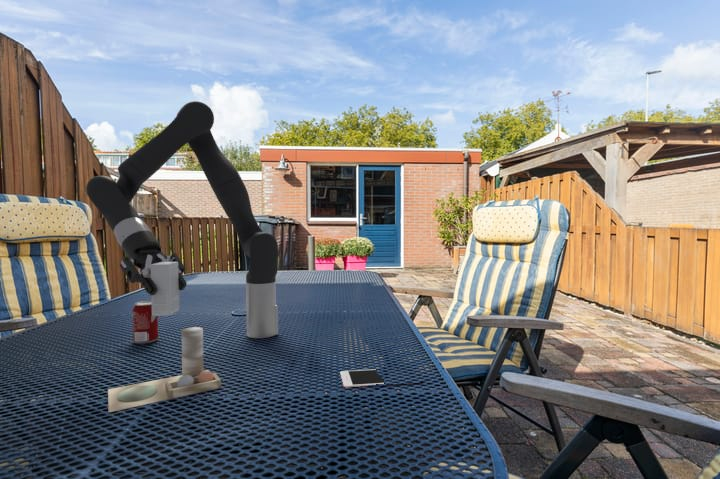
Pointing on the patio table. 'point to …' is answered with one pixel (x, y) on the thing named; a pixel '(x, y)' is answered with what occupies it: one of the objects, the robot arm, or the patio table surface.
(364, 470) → the patio table surface
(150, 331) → the soda can
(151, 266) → the skincare box
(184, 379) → the ball
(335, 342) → the patio table surface
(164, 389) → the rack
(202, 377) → the ball
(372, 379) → the cell phone
